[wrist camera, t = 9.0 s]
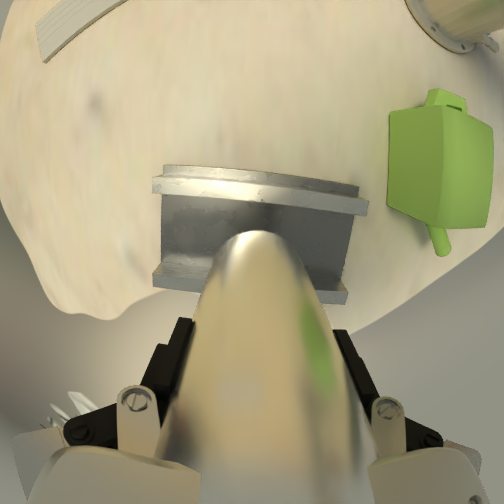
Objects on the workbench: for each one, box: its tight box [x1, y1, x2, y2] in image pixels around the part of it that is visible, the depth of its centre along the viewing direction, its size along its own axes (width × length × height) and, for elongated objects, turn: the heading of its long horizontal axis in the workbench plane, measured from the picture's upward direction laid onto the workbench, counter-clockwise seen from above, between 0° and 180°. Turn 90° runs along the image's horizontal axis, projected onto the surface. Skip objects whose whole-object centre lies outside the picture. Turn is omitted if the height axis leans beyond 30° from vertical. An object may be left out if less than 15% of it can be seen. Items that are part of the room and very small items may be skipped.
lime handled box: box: [387, 88, 494, 257], centre depth 22 cm, size 18×10×10 cm, turn 1°
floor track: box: [152, 165, 369, 305], centre depth 27 cm, size 20×13×4 cm, turn 84°
